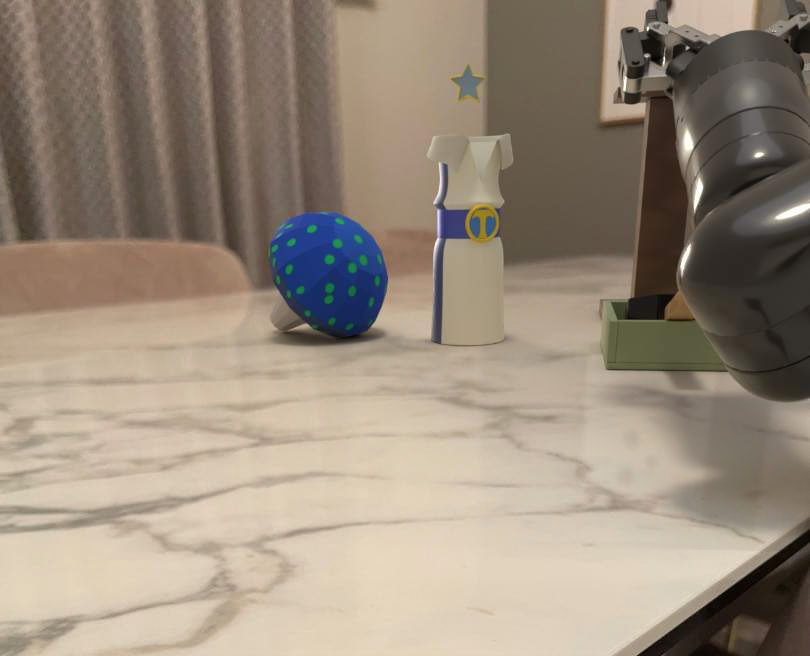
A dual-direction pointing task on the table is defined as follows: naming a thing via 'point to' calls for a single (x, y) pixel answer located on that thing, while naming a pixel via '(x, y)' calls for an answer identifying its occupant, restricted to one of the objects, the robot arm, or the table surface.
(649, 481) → the table surface
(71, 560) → the table surface
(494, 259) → the cream dress figure
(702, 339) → the tray
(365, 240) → the mushroom
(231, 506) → the table surface
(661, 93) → the stand
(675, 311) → the pan
